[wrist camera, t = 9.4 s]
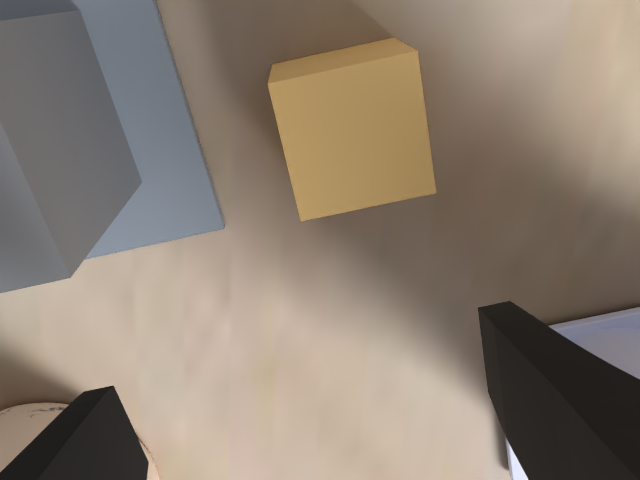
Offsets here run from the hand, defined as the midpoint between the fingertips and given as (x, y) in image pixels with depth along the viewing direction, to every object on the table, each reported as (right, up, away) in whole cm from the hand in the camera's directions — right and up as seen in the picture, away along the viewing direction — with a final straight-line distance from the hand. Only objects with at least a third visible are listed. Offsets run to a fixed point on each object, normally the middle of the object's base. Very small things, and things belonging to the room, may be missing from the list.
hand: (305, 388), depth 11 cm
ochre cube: (+1, +7, +8) cm, 11 cm away
